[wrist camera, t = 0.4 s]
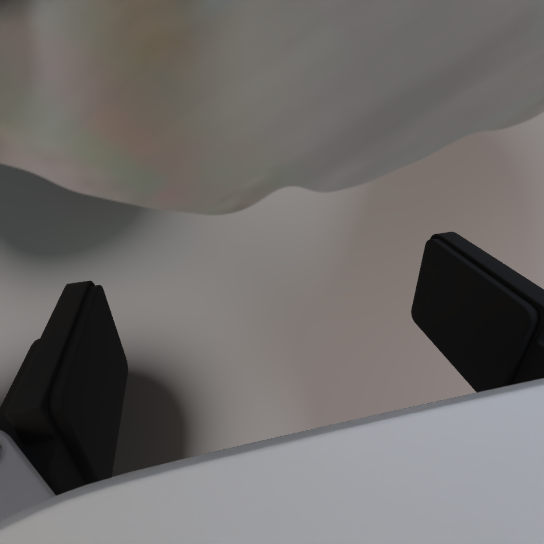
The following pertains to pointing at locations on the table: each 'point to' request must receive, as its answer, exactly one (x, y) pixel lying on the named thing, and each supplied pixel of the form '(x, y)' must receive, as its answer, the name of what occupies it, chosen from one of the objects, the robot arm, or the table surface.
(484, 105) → the table surface
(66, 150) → the table surface
